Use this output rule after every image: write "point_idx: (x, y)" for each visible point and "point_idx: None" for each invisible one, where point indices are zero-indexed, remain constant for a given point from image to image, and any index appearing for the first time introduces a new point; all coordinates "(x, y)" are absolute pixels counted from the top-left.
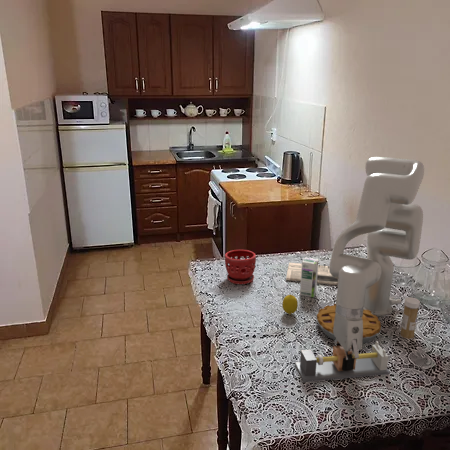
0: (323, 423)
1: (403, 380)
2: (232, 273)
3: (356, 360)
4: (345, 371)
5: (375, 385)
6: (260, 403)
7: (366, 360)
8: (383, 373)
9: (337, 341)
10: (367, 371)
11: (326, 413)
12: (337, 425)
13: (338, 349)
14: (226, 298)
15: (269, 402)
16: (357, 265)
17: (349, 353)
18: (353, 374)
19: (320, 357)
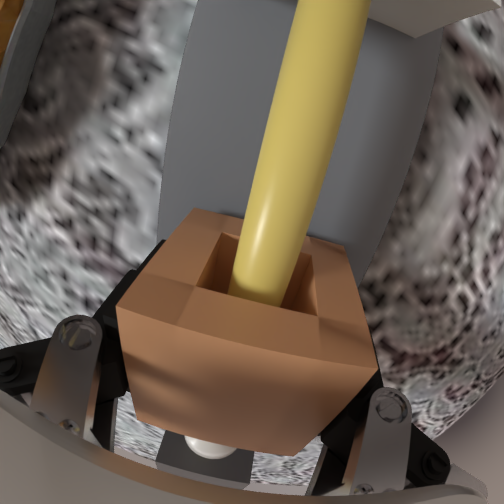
0: (428, 432)
1: None
2: None
3: (216, 119)
4: None
5: (480, 185)
6: (290, 476)
7: (250, 35)
8: (437, 40)
9: (113, 445)
10: (389, 140)
11: (417, 423)
12: (457, 414)
13: (193, 427)
14: None
15: (297, 471)
16: None
17: (301, 407)
18: (360, 266)
19: (220, 457)
